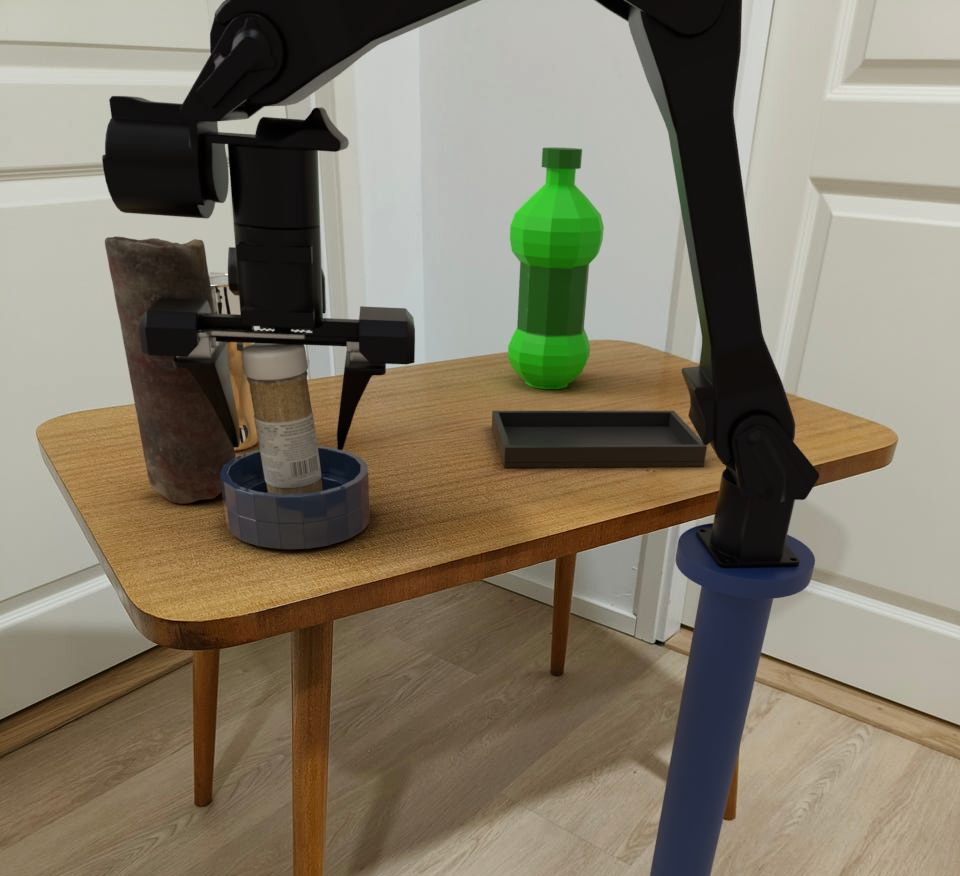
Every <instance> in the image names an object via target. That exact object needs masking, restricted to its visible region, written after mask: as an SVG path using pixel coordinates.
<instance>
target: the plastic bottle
mask: <svg viewBox="0 0 960 876" xmlns="http://www.w3.org/2000/svg"><path fill="white" fill-rule="evenodd" d="M582 157H583V148H575V147H555V146H554V147H542V151H541V168H544V169H545V168H546V169H545V170H546V171H545V184H544V185H542V186H541V187H540V188H539V189H538V190H537V191H536V192H535V193H533V194H532V195H531V196H530V197H529V198H528V199H527V200H526V201H525V202H524V203H523V204H522V205H521V206H520V207H519V208H518V209H517V210H516V212H514V214H513V218H512V220H511V223H510V227H509V241H510V250H511V252H512V254H514V256H515V257H516V259H517V260H518V261H519V281H518V285H519V286H518V300H517V301H518V304H517V321H516V322H517V325H516V329H515V330H514V333H513V334H512V336H511V339H510V341H509V343H508V345H507V346H508V347H507V358H508V361H509V364H510V366H511V368H512V369H513V371H514V373H516V375H518V376H519V377H520V379H522V380H523V381H525V384H526V385H527V386H529V387H530V388H536V389H540V390H559V389H564V388H567V387H568V385H569V384H571V383H572V382H573V381H574V380H576V379H577V378H578V377H579V376H580V375H581V374H582V373H583V371H584V368H585V366H586V364H587V362H588V360H589V358H590V351H591V344H590V341H589V338H588V334H587V332H586V330H585V320H586V319H585V317H586V305H587V297H588V295H587V294H588V284H589V271H590V270H589V269H590V264H591V262H592V261H594V260H595V259H596V257H597V256H598V255H599V253H600V250H601V247H602V243H603V238H604V231H605V229H604V228H605V227H604V223H603V219H602V214H601V213H600V212H599V210H598V209H597V208H596V207H595V205H594V204H593V203H592V202H591V200H590V199H589V198H588V197H587V196H586V195H585V194H584V192H582V190H581V189H580V188H579V187H578V186H577V185H576V174H577V173H576V171H577V170H579V169H582Z"/></svg>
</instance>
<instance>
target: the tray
mask: <svg viewBox="0 0 960 876" xmlns="http://www.w3.org/2000/svg"><path fill="white" fill-rule="evenodd" d="M491 431H492V434H493V438H494V441H495V443H496V447H497V450H498V453H499V456H500V459H501V462H502V465H503V468H505V469H507V468H508V469H514V468H515V469H516V468H517V469H519V468H520V469H521V468H523V469H524V468H525V469H527V468H531V469H532V468H534V469H535V468H537V469H538V468H539V469H541V468H663V467H664V468H666V467H667V468H668V467H669V468H670V467H672V468H673V467H674V468H676V467H677V468H678V467H681V468H683V467H684V468H685V467H686V468H687V467H691V468H692V467H705V461H706V454H707V449H708V448H707V447H708V445H704V444H703V442H702V440H701V438H700V436H699V435H698V434H696V433H695V432H694V431H693V430H692V429H691V427H690V426H689V424H687V423H686V422H685V421H684V420H683V419H682V418H681V417H680V415H679V414H678V413H677V412H676V411H675V410H492V412H491Z"/></svg>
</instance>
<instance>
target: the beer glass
mask: <svg viewBox="0 0 960 876" xmlns="http://www.w3.org/2000/svg"><path fill="white" fill-rule="evenodd" d="M208 274H209V279H210V285H211V292H212V300H213V309H214V314H236V315H241V314H240V301H239V296H237V295H234V294H233V293H232V292H231V291H230V290H229V285H228V272H214V271H213V272H209V271H208ZM250 344H253V343H242V342H227V347H228V363H229V372H230V378H231V383H232V388H233V394H234V399H235V404H236V410H237V415H238V420H239V430H240V445H239V447H234V449H235V452H238V451H242V450H243V451H244V450H247V449H250V448H252V447H254V446H256V445H257V444H258V443H259V442H258V437H257V431H256V425H255V420H254V413H253V411H252V410H253V409H252V398H251V393H250V385H249V382H248V381H247V376H246V375H245V373H244V367H243V361H242V350H243V348H244V347H246V346H248V345H250Z"/></svg>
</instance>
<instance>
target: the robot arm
mask: <svg viewBox="0 0 960 876" xmlns="http://www.w3.org/2000/svg"><path fill="white" fill-rule="evenodd" d="M481 1H482V0H224V1H222V2H221V3H220V4H219V6H218V8H217V9H216V11H214V17H213V21H212V25H211V28H210V32H209V46H210V47H209V52H210V54H209V57H208V58H207V60H206V61H205V64H204V65H203V67H202V69H201V71H200V73H199V74H198V76H197V77H196V79H195V81H194V83H193V84H192V86H191V88H190V90H189V91H188V94H187V95H186V96H185V98H184V100H183V102H182V103H177V102H165V101H154V100H149V99H147V98H144V97H141V96H140V97H139V96H129V95H111V97H110V98H109V99H108V101H109V108H110V109H109V110H110V119H109V122H108V124H107V127H106V132H105V140H104V154H103V155H102V156H101V161H102V169H103V175H104V180H105V183H106V187H107V191H108V193H109V196H110V198H111V200H112V202H113V204H114V206H115V208H116V209H118V210H119V211H120V212H121V213H124V214H134V215H135V214H136V215H150V216H164V217H180V218H191V219H192V218H194V219H209V218H211V216H212V215H213V213H214V210H215V208H216V207H215V206H216V203H218V204H224V203H225V202H226V200H227V198H228V193H229V182H230V190H231V191H230V194H231V206H232V207H231V208H232V219H233V233H234V247H231V246H229V247H228V253H227V256H228V257H227V273H228V285H229V290H230V291H231V292H232V293H233V294H234V295H237V296H239V301H240V314H241V315H236V314H212V313H211V309H210V306H209V303H208V300H200V299H177V298H159V299H158V300H157V301H156V302H155V303H154V304H153V305H152V306H151V307H150V308H148V309H147V310H146V311H145V313H144V314H143V315H142V316H141V317H140V320H139V334H140V341H141V348H142V353H144V354H147V355H156V356H175V358H174V359H173V364H174V367H175V368H179V369H187V370H188V371H189V372H190V374H191V375H192V377H193V378H194V380H195V381H196V383H197V384H198V385H199V387H200V388H201V390H202V391H203V393H204V394H205V396H206V397H207V399H208V400H209V402H210V404H211V405H212V407H213V409H214V411H215V413H216V415H217V417H218V419H219V421H220V423H221V425H222V427H223V428H224V430H225V432H226V434H227V436H228V438H229V440H230V442H231V444H232V446H233V447H239V445H240V430H239V420H238V415H237V410H236V404H235V399H234V394H233V388H232V383H231V378H230V372H229V363H228V347H227V342H242V343H268V344H295V345H304V346H321V347H322V346H323V347H327V346H328V347H346V352H345V359H344V360H345V361H344V368H343V375H342V376H343V377H342V385H341V394H340V403H339V411H338V419H337V429H336V447H337V449H338V450H344V447H345V444H346V441H347V438H348V434H349V432H350V429H351V425H352V422H353V419H354V416H355V412H356V410H357V407H358V405H359V403H360V400H361V399H362V397H363V394H364V392H365V390H366V388H367V386H368V385H369V382H370V380H371V378H372V377H373V376H384V375H386V373H387V365H405V366H407V365H411V364H415V362H416V361H415V359H416V358H415V357H416V355H415V354H416V328H415V327H416V326H415V320H414V316H413V315H412V314H411V312H410V311H409V310H408V309H407V308H405V307H386V306H383V307H382V306H363V305H362V306H359V316H358V319H354V318H334V317H333V318H329V317H324V314H326V312H327V300H326V297H327V296H326V276H325V273H324V270H323V268H322V267H323V266H322V243H321V242H322V241H321V239H322V238H321V209H320V178H319V173H320V172H319V152H330V153H336V152H337V153H338V152H340V151H343V150H346V149H348V148H349V144H350V143H349V139H348V137H347V136H346V135H345V134H343V133H342V132H341V130H339V129H338V127H337V126H336V124H334V123H333V121H332V120H331V118H330V117H329V115H328V113H327V110H326V109H325V108H324V107H323V106H321V107H314V108H312V109H311V112H310V113H309V115H308V116H306V118H305V119H298V118H285V117H272V116H262V117H260V118H259V120H258V122H257V125H256V128H255V133H238V132H237V133H236V132H224V131H219V125H218V124H219V123H218V122H228V121H229V122H230V121H240V120H241V121H242V120H248V119H250V118H252V117H253V116H254V115H255V114H257V113H258V112H259V111H261V110H262V109H264V108H265V107H285V106H291V105H296V104H299V103H300V102H301V101H303V100H305V99H307V98H308V97H310V96H311V95H313V94H314V93H315V92H317V91H318V90H320V89H321V88H323V87H324V86H325V85H327V84H328V83H330V82H331V81H332V80H334V79H336V78H337V77H339V75H341V74H342V73H343V72H345V71H346V70H347V69H348V68H350V67H351V66H353V64H355V63H356V62H357V61H358V60H360V59H361V58H362V57H363V56H365V55H366V54H367V53H369V52H370V51H372V50H373V49H375V48H376V47H377V46H380V45H381V44H383V43H386V42H388V41H390V40H393V39H395V38H397V37H400V36H402V35H405V34H406V33H409V32H411V31H414V30H416V29H418V28H420V27H423V26H425V25H428V24H430V23H432V22H434V21H436V20H439V19H441V18H443V17H446V16H448V15H450V14H452V13H455V12H458V11H459V10H462V9H465V8H467V7H469V6H472V5H474V4H476V3H478V2H481ZM594 2H596V3H597V4H599V5H600V6H602V7H603V8H605V9H606V10H608V11H609V12H610V13H612V14H614V15H616V16H618V17H619V18H621V19H622V20H624V21H626V22H628V27H629V31H630V35H631V37H632V41H633V44H634V47H635V49H636V52H637V55H638V58H639V60H640V63H641V67H642V69H643V73H644V75H645V78H646V81H647V84H648V86H649V88H650V91H651V93H652V95H653V98H654V100H655V103H656V105H657V107H658V110H659V112H660V114H661V117H662V120H663V122H664V124H665V127H666V131H667V133H668V139H669V147H670V152H671V158H672V164H673V170H674V176H675V182H676V187H677V194H678V201H679V206H680V212H681V218H682V225H683V230H684V231H683V232H684V236H685V243H686V248H687V254H688V261H689V267H690V273H691V278H692V285H693V290H694V297H695V303H696V309H697V314H698V321H699V327H700V332H701V333H700V334H701V347H700V355H699V365H698V366H697V365H696V366H688V367H683V368H681V374H682V377H683V380H684V382H685V384H686V387H687V390H688V394H689V400H690V401H689V402H690V406H689V411H688V415H687V416H688V419H689V420H690V422H691V424H692V426H693V427H694V430H695V431H696V433H697V436H698V437H699V438H700V440H701V441H702V442H703V444H704V445H706V446H708V445H710V447H711V448H712V450H713V451H714V453H715V455H716V457H717V459H718V460H719V461H720V462H721V464H722V465H724V466H725V469H724V470H723V471H722V473H721V477H720V484H719V488H718V494H717V501H716V506H715V512H714V518H713V522H712V523H713V528H700V529H697V530H696V536H697V538H698V539H699V540H700V542H701V543H702V545H703V546H704V547H705V549H706V550H707V552H708V553H709V554H710V556H711V557H712V559H713V560H714V562H715V563H716V564H717V566H718V567H721V568H773V567H798V566H799V563H800V560H799V558H798V557H797V556H796V555H795V554H794V553H793V552H792V551H791V549H790V548H789V547H788V546H787V545H786V544H785V542H786V538H787V535H788V533H789V529H790V526H791V525H790V524H791V520H792V515H793V512H794V507H795V502H796V501H804V500H806V499H807V498H808V496H809V495H810V493H811V491H812V490H813V488H814V487H815V485H816V483H817V482H818V480H819V478H820V473H819V471H818V470H817V469H816V468H815V466H814V465H813V464H812V462H811V461H810V460H809V459H808V458H807V456H806V455H805V454H804V453H803V451H802V450H801V449H800V448H799V447H798V446H797V444H796V443H795V441H794V440H795V437H796V421H795V418H794V415H793V411H792V408H791V406H790V403H789V399H788V395H787V393H786V390H785V387H784V384H783V382H782V379H781V376H780V373H779V371H778V369H777V367H776V365H775V362H774V360H773V357H772V355H771V353H770V350H769V348H768V345H767V343H766V340H765V336H764V334H763V327H762V320H761V314H760V313H761V312H760V306H759V299H758V297H759V296H758V290H757V283H756V282H757V281H756V274H755V267H754V259H753V253H752V245H751V244H752V243H751V236H750V229H749V223H748V214H747V207H746V199H745V192H744V185H743V184H744V183H743V176H742V169H741V163H740V154H739V147H738V139H737V131H736V125H735V124H736V123H735V116H734V115H735V114H734V112H735V111H734V110H735V97H736V89H737V83H738V82H737V81H738V74H739V68H740V67H739V66H740V61H741V60H740V59H741V51H742V23H743V22H742V20H743V19H742V18H743V17H742V16H743V15H742V14H743V0H594ZM226 145H227V150H226ZM227 153H228V154H227ZM227 156H228V158H227ZM229 180H230V181H229ZM255 327H259V329H255ZM307 331H310V332H307Z"/></svg>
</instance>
